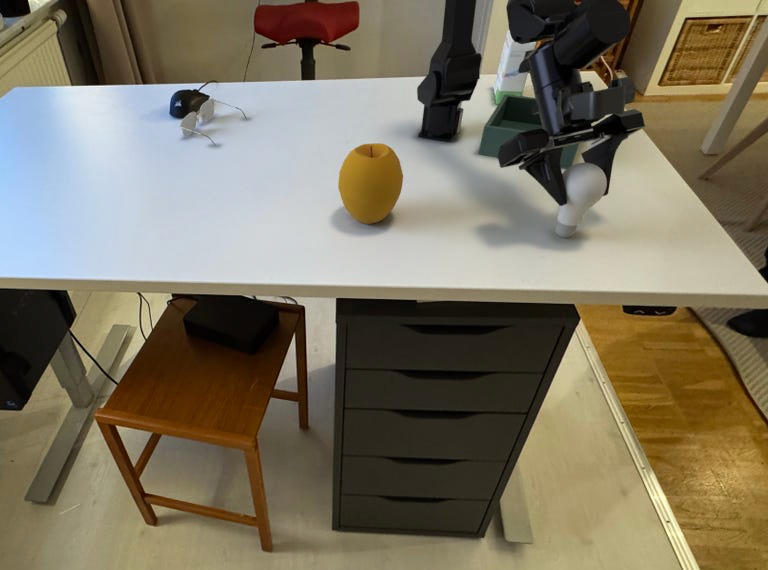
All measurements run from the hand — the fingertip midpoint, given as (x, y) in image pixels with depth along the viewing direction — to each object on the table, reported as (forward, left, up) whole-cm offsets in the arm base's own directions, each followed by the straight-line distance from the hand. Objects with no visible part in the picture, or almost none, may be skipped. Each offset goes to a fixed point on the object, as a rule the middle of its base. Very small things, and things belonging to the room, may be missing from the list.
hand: (583, 200), depth 74 cm
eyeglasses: (-71, +14, -7) cm, 73 cm away
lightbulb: (-1, +1, -7) cm, 7 cm away
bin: (-11, +30, -7) cm, 33 cm away
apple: (-29, -5, -7) cm, 30 cm away
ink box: (-20, +50, -7) cm, 54 cm away
